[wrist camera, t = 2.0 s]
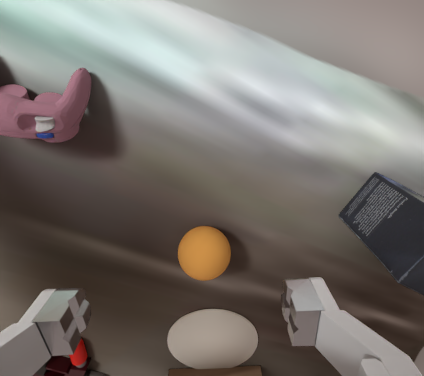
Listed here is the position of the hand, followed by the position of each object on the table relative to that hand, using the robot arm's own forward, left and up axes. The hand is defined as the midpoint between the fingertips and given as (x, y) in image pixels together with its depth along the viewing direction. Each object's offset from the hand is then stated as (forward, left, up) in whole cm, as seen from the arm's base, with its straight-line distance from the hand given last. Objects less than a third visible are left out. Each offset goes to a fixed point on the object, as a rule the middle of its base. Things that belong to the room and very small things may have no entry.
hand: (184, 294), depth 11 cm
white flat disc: (+27, 0, -17) cm, 32 cm away
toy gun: (+30, -20, -18) cm, 40 cm away
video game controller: (-7, -14, -18) cm, 24 cm away
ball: (+9, 0, -15) cm, 17 cm away
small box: (+7, +21, -18) cm, 28 cm away
